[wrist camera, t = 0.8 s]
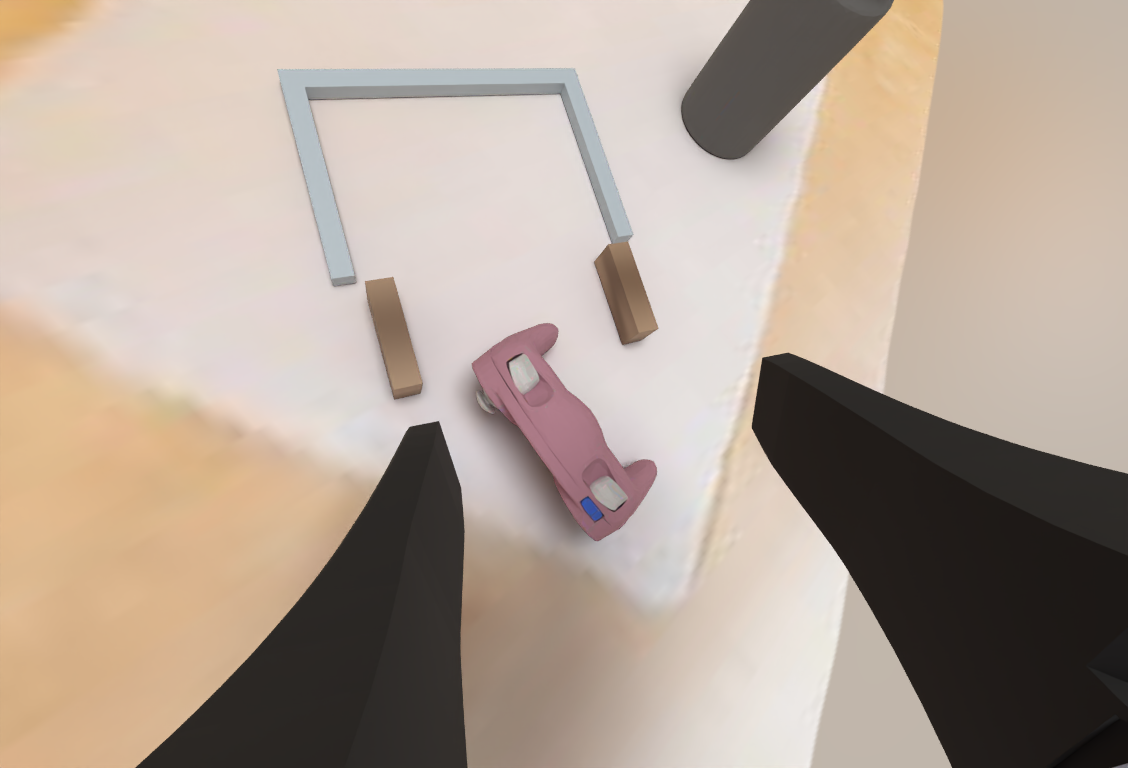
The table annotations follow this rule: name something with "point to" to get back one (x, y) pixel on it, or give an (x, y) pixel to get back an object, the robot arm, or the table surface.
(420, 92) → the frame
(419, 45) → the table surface
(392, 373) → the wooden blocks
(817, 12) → the bottle
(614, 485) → the video game controller
